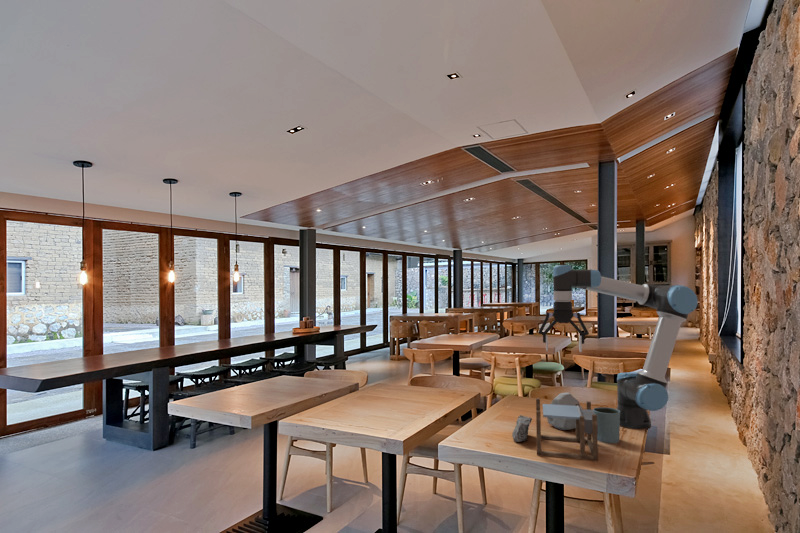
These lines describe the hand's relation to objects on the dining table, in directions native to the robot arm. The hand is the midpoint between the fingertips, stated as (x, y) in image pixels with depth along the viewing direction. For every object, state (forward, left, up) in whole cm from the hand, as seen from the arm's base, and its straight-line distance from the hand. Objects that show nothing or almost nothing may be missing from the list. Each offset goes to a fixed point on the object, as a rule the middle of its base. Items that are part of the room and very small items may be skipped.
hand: (563, 351), depth 203 cm
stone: (-1, -9, -35) cm, 36 cm away
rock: (+18, +12, -35) cm, 41 cm away
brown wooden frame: (+1, +19, -35) cm, 40 cm away
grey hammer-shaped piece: (-1, +19, -26) cm, 32 cm away
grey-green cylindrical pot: (-16, +4, -35) cm, 39 cm away
